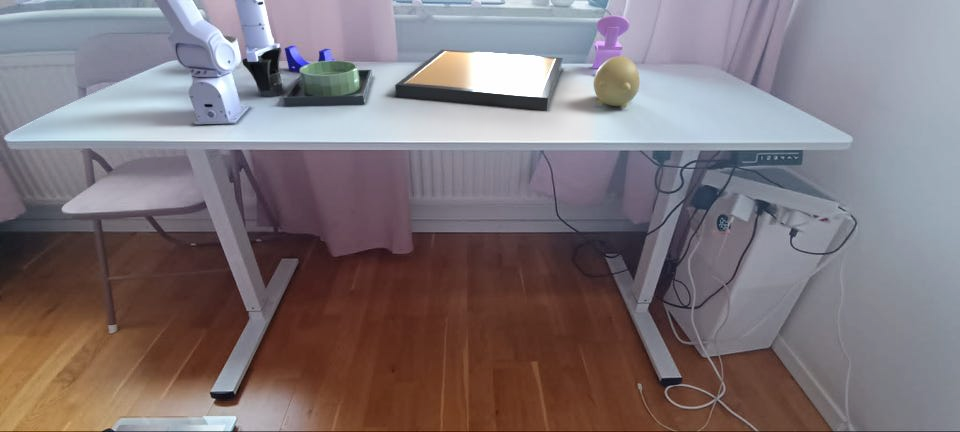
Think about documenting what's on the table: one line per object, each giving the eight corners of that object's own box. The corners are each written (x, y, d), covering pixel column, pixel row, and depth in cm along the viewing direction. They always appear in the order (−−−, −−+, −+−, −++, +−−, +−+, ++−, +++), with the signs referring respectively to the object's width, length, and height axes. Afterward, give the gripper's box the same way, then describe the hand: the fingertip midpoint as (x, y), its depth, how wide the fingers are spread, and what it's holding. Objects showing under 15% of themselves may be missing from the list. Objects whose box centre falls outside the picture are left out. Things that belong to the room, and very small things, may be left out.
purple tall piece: (617, 68, 131) (627, 11, 123) (622, 77, 123) (632, 17, 115) (587, 67, 131) (595, 10, 123) (590, 75, 124) (599, 16, 116)
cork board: (442, 59, 137) (396, 96, 108) (441, 49, 135) (395, 84, 106) (561, 68, 130) (546, 110, 101) (562, 58, 128) (547, 98, 99)
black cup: (281, 96, 107) (276, 75, 104) (256, 97, 106) (250, 75, 104) (286, 89, 112) (282, 68, 109) (262, 90, 111) (257, 69, 108)
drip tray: (364, 104, 103) (363, 95, 102) (285, 106, 102) (283, 97, 100) (372, 77, 121) (371, 69, 120) (305, 78, 119) (303, 70, 118)
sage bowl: (357, 98, 106) (354, 75, 103) (298, 100, 105) (293, 76, 102) (363, 81, 117) (360, 59, 114) (310, 83, 116) (305, 60, 113)
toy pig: (631, 121, 106) (641, 81, 108) (636, 94, 95) (648, 50, 97) (588, 114, 109) (600, 75, 111) (588, 86, 97) (601, 43, 100)
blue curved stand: (337, 70, 126) (333, 47, 123) (327, 75, 122) (323, 51, 119) (299, 66, 129) (294, 44, 125) (289, 70, 125) (284, 48, 122)
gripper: (264, 30, 95) (279, 94, 102) (282, 17, 107) (294, 75, 114) (229, 30, 94) (246, 95, 102) (250, 17, 106) (265, 76, 114)
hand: (269, 85), depth 108 cm, fingers open, 7 cm apart
